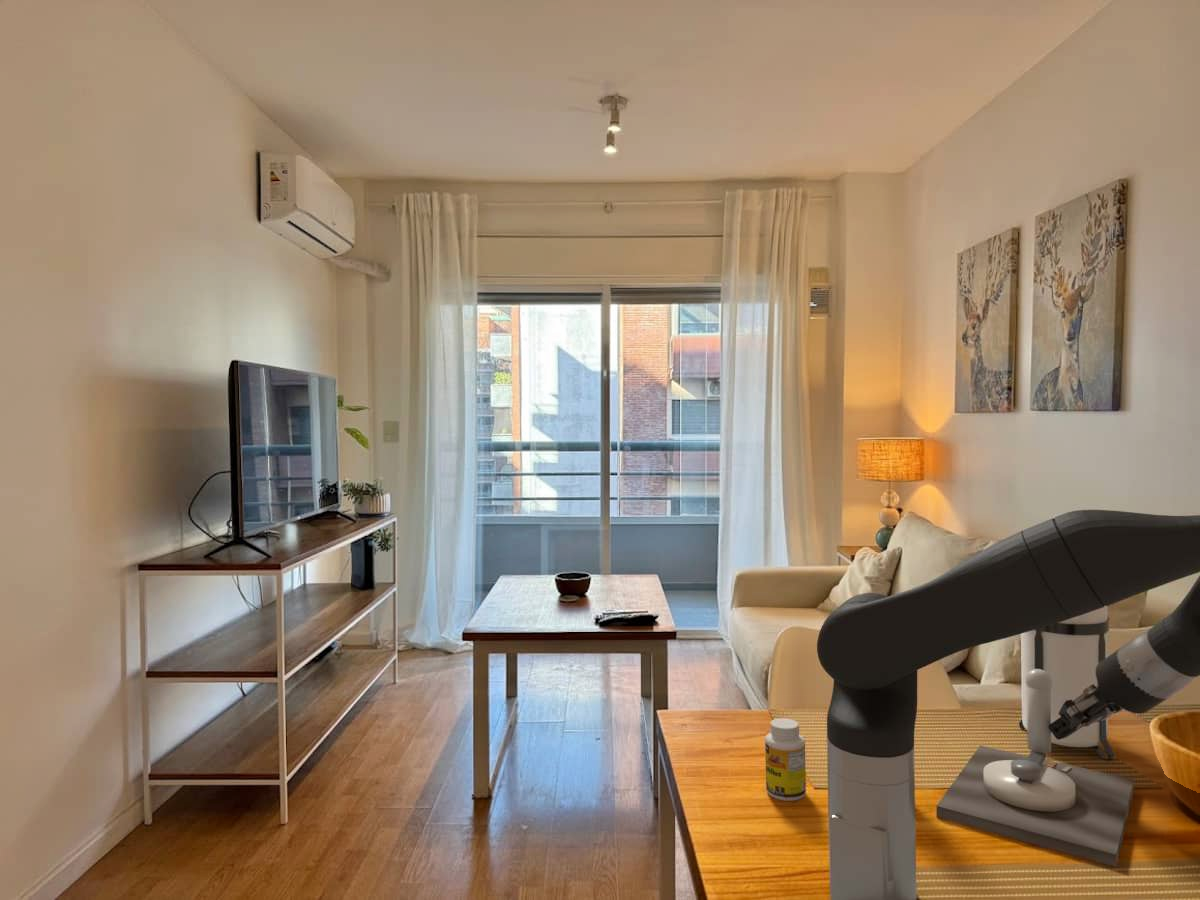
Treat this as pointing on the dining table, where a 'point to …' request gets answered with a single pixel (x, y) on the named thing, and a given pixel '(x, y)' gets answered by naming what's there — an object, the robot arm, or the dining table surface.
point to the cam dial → (1032, 759)
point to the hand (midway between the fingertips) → (1056, 732)
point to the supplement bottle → (785, 761)
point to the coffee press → (1069, 670)
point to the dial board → (1073, 831)
